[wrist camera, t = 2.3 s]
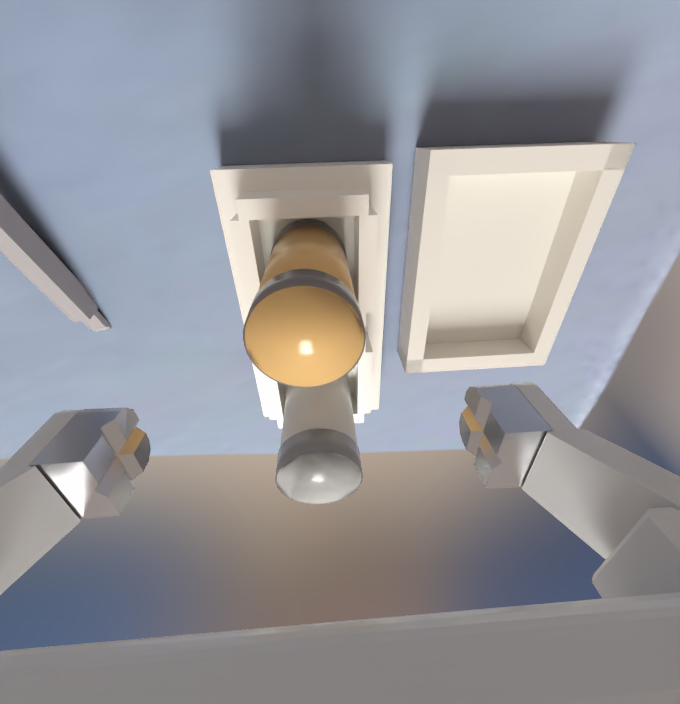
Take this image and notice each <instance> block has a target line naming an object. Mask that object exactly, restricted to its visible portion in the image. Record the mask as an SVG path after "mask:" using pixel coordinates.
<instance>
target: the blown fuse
mask: <svg viewBox="0 0 680 704" xmlns="http://www.w3.org/2000/svg"><path fill="white" fill-rule="evenodd" d="M243 340H244V346H245V349H246V352H247V354H248V356H249V358H250V360H251V361H252V363H253V364H254V365H255V366H256V367H257V369H259V370H260V371H261V372H262V373H263V374H264V375H266V376H267V377H269V378H271V379H272V380H274V381H276V382H279V383H281V384H284V385H288V386H292V387H299V388H312V387H319V386H324V385H327V384H330V383H333V382H335V381H337V380H339V379H340V378H342V377H344V376H345V375H346V374H348V373H349V372H350V371H351V370H352V369H353V368H354V367H355V365H356V364H357V363H358V361H359V360H360V358H361V356H362V354H363V351H364V347H365V341H366V333H365V327H364V323H363V319H362V315H361V311H360V307H359V304H358V301H357V299H356V297H355V293H354V289H353V284H352V280H351V276H350V272H349V268H348V262H347V255H346V251H345V247H344V244H343V241H342V239H341V237H340V236H339V235H338V233H337V232H336V231H335V230H334V229H333V228H332V227H331V226H329V225H328V224H326V223H324V222H322V221H319V220H315V219H300V220H296V221H294V222H292V223H290V224H288V225H287V226H285V227H284V228H283V229H282V230H281V231H280V233H279V234H278V235H277V237H276V239H275V242H274V244H273V247H272V250H271V254H270V259H269V262H268V265H267V267H266V270H265V273H264V276H263V279H262V281H261V284H260V287H259V290H258V292H257V293H256V295H255V297H254V299H253V302H252V304H251V307H250V310H249V313H248V315H247V318H246V321H245V324H244V330H243Z"/></svg>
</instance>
